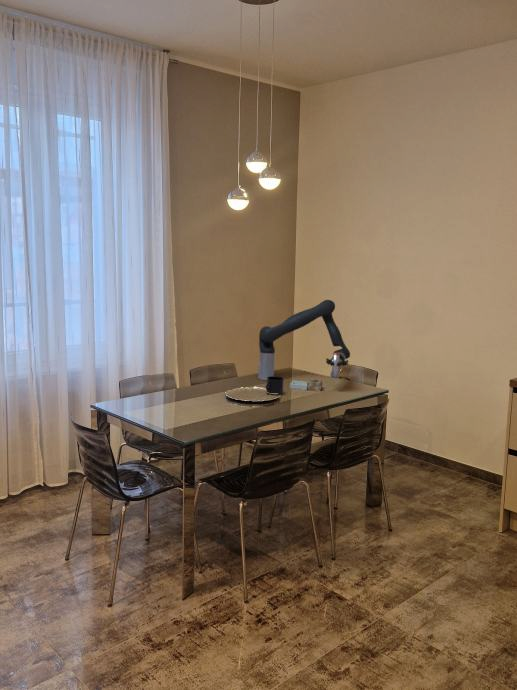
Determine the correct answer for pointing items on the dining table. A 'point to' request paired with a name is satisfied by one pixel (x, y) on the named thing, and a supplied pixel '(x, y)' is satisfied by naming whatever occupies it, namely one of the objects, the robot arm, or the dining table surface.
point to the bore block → (314, 384)
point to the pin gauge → (335, 365)
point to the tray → (298, 385)
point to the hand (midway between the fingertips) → (335, 364)
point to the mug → (274, 384)
